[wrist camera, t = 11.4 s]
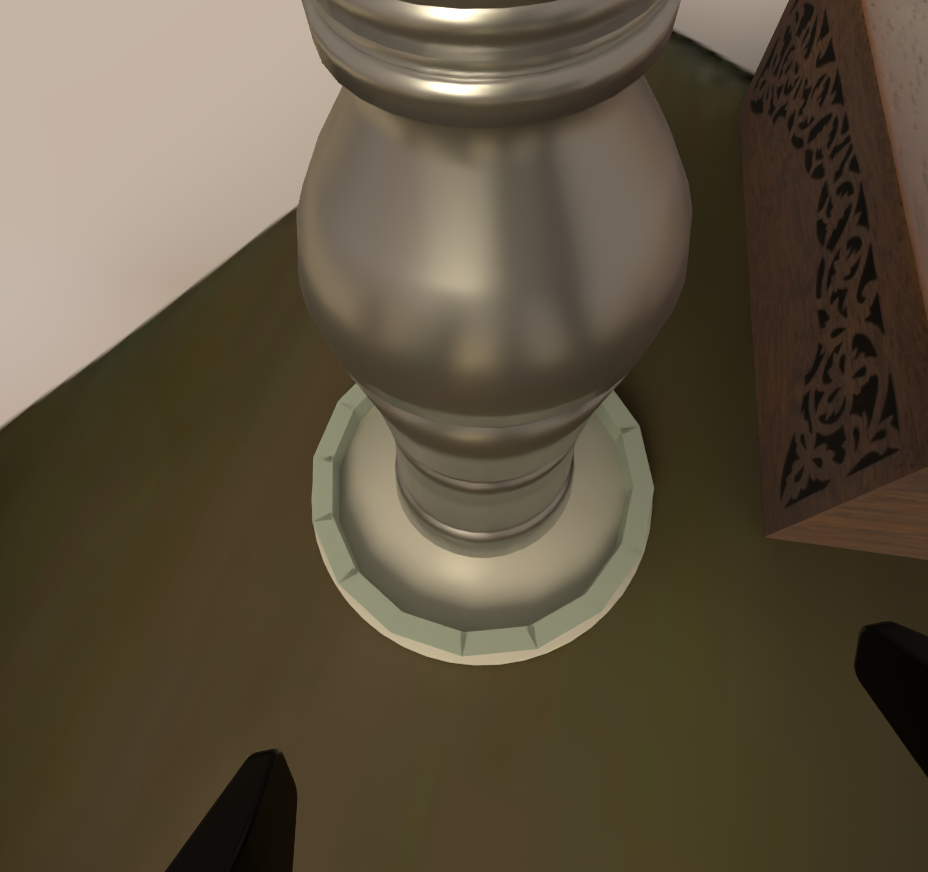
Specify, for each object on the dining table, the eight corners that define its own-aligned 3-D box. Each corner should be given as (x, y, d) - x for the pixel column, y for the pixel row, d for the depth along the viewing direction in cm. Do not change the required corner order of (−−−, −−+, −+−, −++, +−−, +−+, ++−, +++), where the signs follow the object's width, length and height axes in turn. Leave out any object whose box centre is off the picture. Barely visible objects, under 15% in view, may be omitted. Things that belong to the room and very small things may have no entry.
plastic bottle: (391, 442, 24) (61, -326, 5) (538, 405, 24) (715, -422, 6) (423, 588, 21) (19, 116, 3) (586, 544, 22) (1177, -116, 3)
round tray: (611, 718, 20) (623, 724, 18) (260, 599, 22) (242, 594, 20) (673, 386, 25) (686, 366, 23) (383, 314, 27) (377, 292, 25)
